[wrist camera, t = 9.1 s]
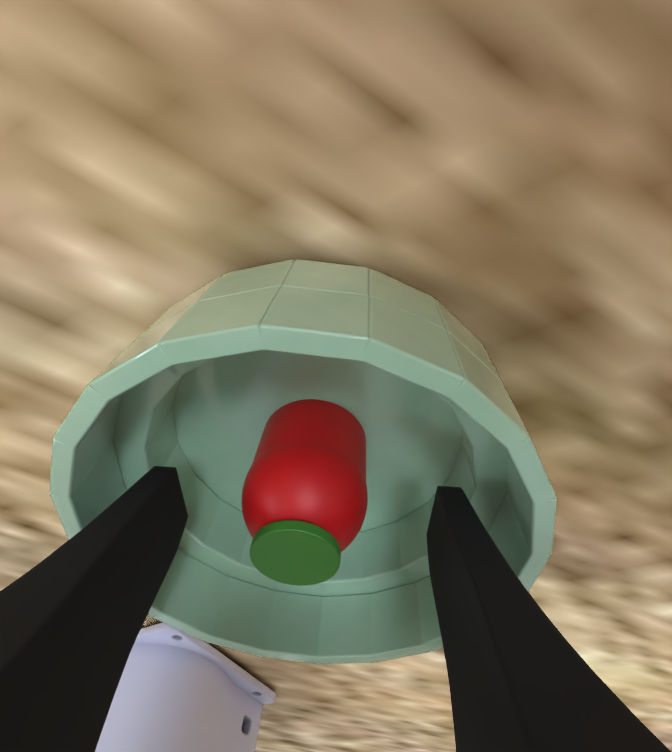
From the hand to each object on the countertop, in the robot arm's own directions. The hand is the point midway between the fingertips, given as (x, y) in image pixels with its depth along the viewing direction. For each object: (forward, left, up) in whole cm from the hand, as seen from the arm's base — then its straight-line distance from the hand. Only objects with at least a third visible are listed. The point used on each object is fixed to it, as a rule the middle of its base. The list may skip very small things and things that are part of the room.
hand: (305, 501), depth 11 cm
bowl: (0, 0, -3) cm, 3 cm away
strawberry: (0, 0, -2) cm, 3 cm away
